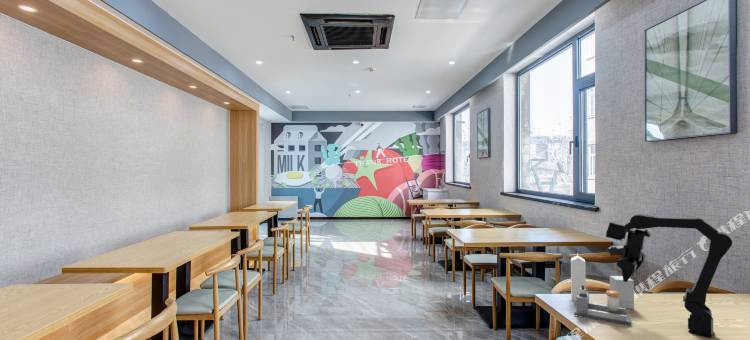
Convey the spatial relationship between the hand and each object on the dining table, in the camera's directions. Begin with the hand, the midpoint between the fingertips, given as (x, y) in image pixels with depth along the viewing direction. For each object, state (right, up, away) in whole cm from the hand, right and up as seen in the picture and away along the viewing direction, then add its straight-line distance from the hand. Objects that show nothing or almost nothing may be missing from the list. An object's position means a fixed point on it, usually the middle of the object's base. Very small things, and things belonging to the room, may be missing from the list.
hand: (628, 278), depth 157 cm
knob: (-8, -14, -2) cm, 16 cm away
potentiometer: (-17, -8, +4) cm, 19 cm away
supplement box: (+6, -16, +13) cm, 22 cm away
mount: (-11, -16, 0) cm, 20 cm away
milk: (-9, -16, +22) cm, 29 cm away
